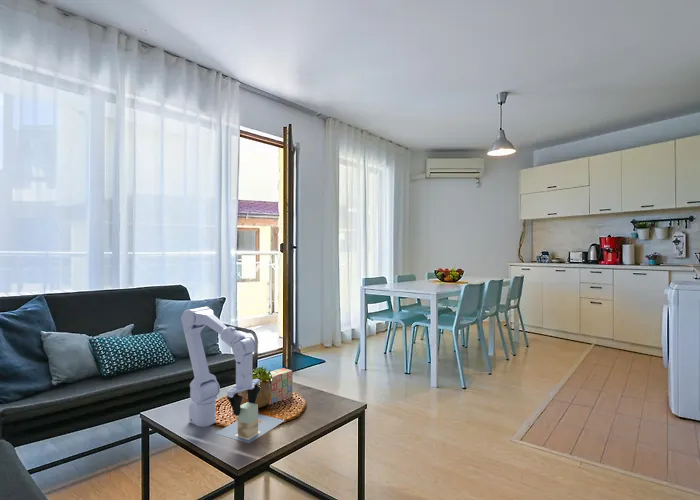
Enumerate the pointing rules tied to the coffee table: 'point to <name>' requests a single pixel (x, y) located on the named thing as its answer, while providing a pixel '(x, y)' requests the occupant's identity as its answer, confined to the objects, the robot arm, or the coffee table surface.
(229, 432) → the board
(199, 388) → the robot arm
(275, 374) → the stack of blocks
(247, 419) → the sage block
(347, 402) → the coffee table surface
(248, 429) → the maple block
